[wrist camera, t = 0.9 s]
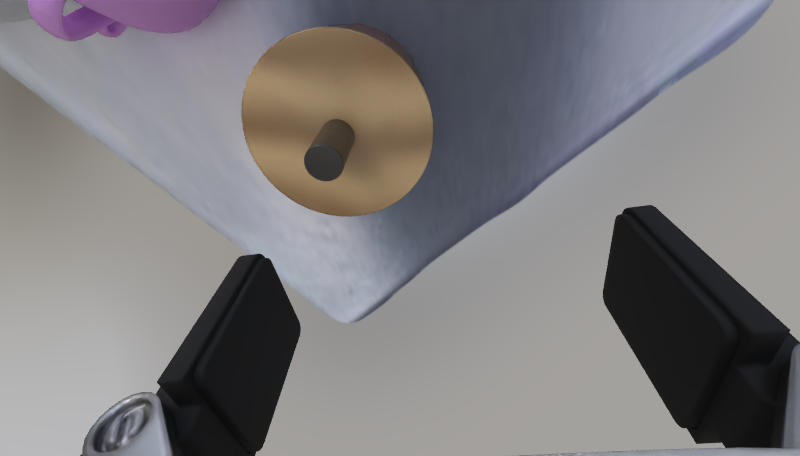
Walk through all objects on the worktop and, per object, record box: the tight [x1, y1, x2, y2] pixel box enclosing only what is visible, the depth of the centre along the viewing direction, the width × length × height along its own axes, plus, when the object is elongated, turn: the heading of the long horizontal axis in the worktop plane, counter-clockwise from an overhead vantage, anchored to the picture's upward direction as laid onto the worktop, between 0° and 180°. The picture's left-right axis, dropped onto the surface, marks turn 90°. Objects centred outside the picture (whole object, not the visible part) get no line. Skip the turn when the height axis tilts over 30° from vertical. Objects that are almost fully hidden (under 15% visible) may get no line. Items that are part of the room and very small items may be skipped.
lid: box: [242, 27, 434, 216], centre depth 25 cm, size 14×14×6 cm
